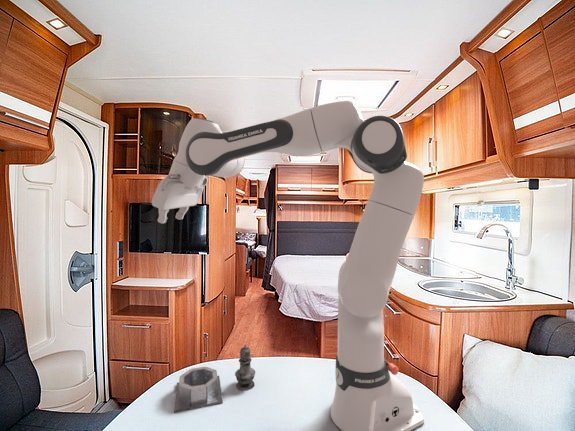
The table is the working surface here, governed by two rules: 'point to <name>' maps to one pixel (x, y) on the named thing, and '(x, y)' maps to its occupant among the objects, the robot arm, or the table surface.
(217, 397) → the duct collar
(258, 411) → the table surface
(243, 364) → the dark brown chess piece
